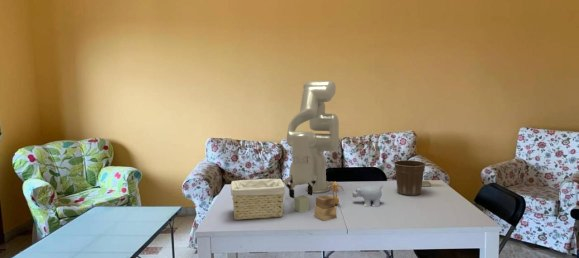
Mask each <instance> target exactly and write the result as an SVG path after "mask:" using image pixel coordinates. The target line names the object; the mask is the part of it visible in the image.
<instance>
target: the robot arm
mask: <svg viewBox="0 0 579 258" xmlns="http://www.w3.org/2000/svg"><path fill="white" fill-rule="evenodd" d="M336 91H337V88H336V83H335V82H334V81H332V80H311V81H307V82H305V83H304V84H303V91H302V95H301V102H300V109H299V112H298V113H297V114H296V115H294V116H293V118H292V119H291V121H289V123H288V127H287V134H286V142H287V145H288V146H289V147H291V148H292V153H291V154H292V157H291V158H292V162H291V163H290V166H289V175H288V177H287V178H285V179H284V180H283V184H284V186H286V188H287V189H288V190H289V191H288V194H289V198H291V199H294V197H295V187H296V186H301V185H307V186H306V187H305V191H306V192H307V195H309V196H312V195H313V193H314V194H323V193H327V192H328V191H329V190H330V188H329V189H328V190H327V188H328V187H329V186H331V185H333V184H334V181H328V180H327V175H326V173H327V168H326V167H327V165H326V161H327V160H326V157H325V154H323V152H336V151H338V148H339V140H340V139H339V138H340V137H339V131H340V129H339V128H340V123H339V118H338V115H336V114H335V113H326V104H325V103H328V102H330V101H331V100H332V99H333V98H334V96H335V94H336ZM308 121H309V129H310V130H311V131H303V130H301V131H299V130H296V129H297V128H298V127H299V126H300V125H302V124H304V123H306V122H308ZM313 131H314V132H313ZM316 132H328V133H316Z"/></svg>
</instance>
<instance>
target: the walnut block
mask: <svg viewBox="0 0 579 258" xmlns="http://www.w3.org/2000/svg"><path fill="white" fill-rule="evenodd" d="M315 205H316V206H318V207H320V208H322V209H328V208H332V207H336V205H335V198H333V196H330V195H328V194H325V195H319V196H316V197H315Z"/></svg>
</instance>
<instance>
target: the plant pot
mask: <svg viewBox="0 0 579 258" xmlns="http://www.w3.org/2000/svg"><path fill="white" fill-rule="evenodd" d="M393 165H394V170H395V178H396V191H397V194H399V195H400V194H401V195H406V196H411V197H413V196H420V195H421V194H422V187H423V179H424V173H425V169H426V166H427V163H426V162H424V161H419V160H409V159H407V160H405V159H402V160H395V161H394V162H393Z"/></svg>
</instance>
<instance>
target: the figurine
mask: <svg viewBox="0 0 579 258" xmlns="http://www.w3.org/2000/svg"><path fill="white" fill-rule="evenodd" d="M331 187H333V188H332V191H331V192H332V197H333V198H335V206H336V205H338V204H339V203H340V200H339V197H338V191H339V189H338V187H339V188H341V189H342V192H343V191H344V190H345V189H344V188H343V186H342V185H340V184H337V181H333V185H329V186H328V188H327V190H328V189H329V190H330V188H331ZM329 190H328V191H329ZM344 192H345V191H344Z"/></svg>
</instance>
